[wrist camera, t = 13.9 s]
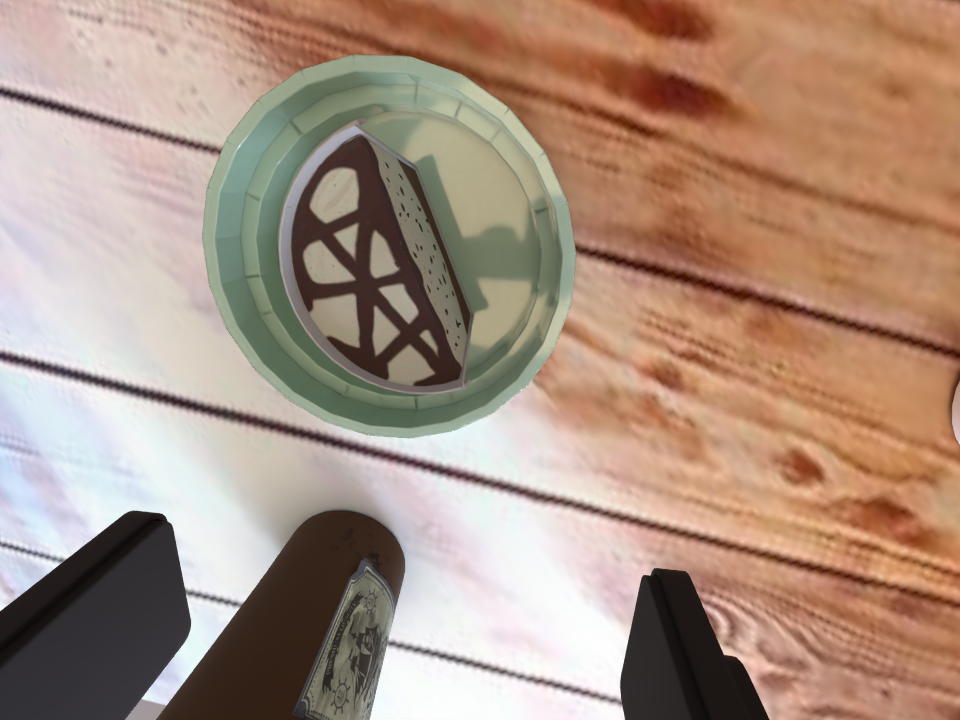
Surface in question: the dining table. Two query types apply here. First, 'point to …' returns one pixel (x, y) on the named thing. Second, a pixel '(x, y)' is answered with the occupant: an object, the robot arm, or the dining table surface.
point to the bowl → (458, 208)
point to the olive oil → (305, 631)
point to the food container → (374, 267)
